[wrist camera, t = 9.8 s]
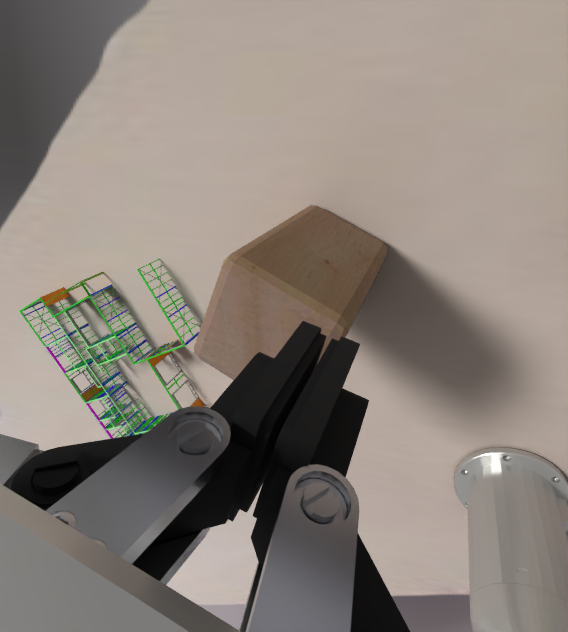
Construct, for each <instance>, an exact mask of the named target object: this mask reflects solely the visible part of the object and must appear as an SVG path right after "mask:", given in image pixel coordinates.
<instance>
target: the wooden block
mask: <svg viewBox="0 0 568 632" xmlns="http://www.w3.org/2000/svg"><path fill="white" fill-rule="evenodd" d="M387 251H388V247H387V246H386V245H385V244H384V242H382V241H380V240H378V239H376V238H375V237H373V236H371V235H369V234H367V233H366V232H364V231H362V230H360V229H358V228H357V227H355V226H353V225H351V224H349V223H347V222H346V221H344V220H342V219H340V218H338V217H337V216H335V215H333V214H331V213H329V212H328V211H326V210H324V209H322V208H320V207H319V206H313V205H311V206H309V207H307V208H306V209H304V210H302V211H301V212H299V213H297V214H296V215H294V216H293V217H291V218H289V219H288V220H286V221H284V222H283V223H281V224H279V225H278V226H276V227H275V228H273V229H271V230H270V231H268V232H266V233H265V234H263V235H261V236H260V237H258V238H257V239H255V240H253V241H252V242H250V243H248V244H247V245H245V246H243V247H242V248H240V249H238V250H237V251H235V252H234V253H232V254H230V255H229V256H228V257H227V258H226V259H225V260H224V262H223V265H222V268H221V271H220V274H219V277H218V279H217V282H216V285H215V288H214V291H213V294H212V297H211V300H210V302H209V305H208V308H207V311H206V314H205V317H204V320H203V323H202V325H201V328H200V331H199V334H198V337H197V340H196V343H195V346H194V352H195V354H196V355H197V356H198V357H199V358H200V359H201V360H203V361H204V362H206V363H208V364H209V365H211V366H212V367H214V368H216V369H217V370H219V371H220V372H222V373H223V374H225V375H227V376H228V377H230V378H231V379H233V380H235V378H236V377H237V376H238V375H239V374H240V373H241V371H242V370H243V369H244V368H245V367H246V365H247V364H248V363H249V362H250V361H251V360H252V358H253V357H254V356H255V355H256V354H257V353H258V352H261V353H263V354H266V355H268V356H270V357H272V358H275V357H276V356H277V354H278V353H279V352H280V350H281V349H282V348H283V346H284V345H285V344H286V342H287V341H288V340H289V338H290V337H291V336H292V334H293V333H294V332H295V330H296V329H297V328H298V326H299V325H300V324H301V322H302V321H305V322H308V323H310V324H313V325H315V326H318V327H320V328H321V334H323V335H326V336H327V337H326V340H325V343H324V346H323V349H322V352H321V355H320V358H319V360H318V362H319V361H320V359H321V357H322V355H323V353H324V352H325V350H326V348H327V346H328V345H329V343H330V341H331V339H332V338H333V339H335V340H338V341H339V340H340V338H341V337H344V338H345V337H346V335H347V333H348V331H349V329H350V327H351V325H352V323H353V321H354V319H355V317H356V316H357V314H358V312H359V310H360V308H361V306H362V304H363V302H364V300H365V298H366V296H367V294H368V292H369V290H370V288H371V286H372V284H373V282H374V280H375V278H376V276H377V274H378V272H379V270H380V268H381V266H382V264H383V262H384V260H385V258H386V256H387ZM317 364H318V363H317Z"/></svg>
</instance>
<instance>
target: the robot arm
mask: <svg viewBox="0 0 568 632" xmlns="http://www.w3.org/2000/svg"><path fill="white" fill-rule="evenodd" d="M326 337H327V336H326V335H323V334H321V328H320V327H318V326H315V325H313V324H310V323H308V322H305V321H302V322H301V324H300V325H299V326H298V328H297V329H296V330H295V332H294V333H293V334H292V336H291V337H290V338H289V340H288V341H287V342H286V344H285V345H284V346H283V348H282V349H281V350H280V352H279V353H278V354H277V356H276V357H275V358H272V357H270V356H268V355H266V354H263V353H261V352H258V353H257V354H256V355H255V356H254V357H253V358H252V360H251V361H250V362H249V363H248V364H247V365H246V367H245V368H244V369H243V370H242V371H241V373H240V374H239V375H238V376H237V377H236V378H235V380H234V381H233V382H232V383H231V384H230V386H229V387H228V388H227V389H226V390H225V391H224V393H223V394H222V395H221V396H220V397H219V399H218V400H217V401H216V402H215V403H214V404H213V406H212V407H211V408H210V409H209V408H205V407H200V406H195V407H186V408H182V409H179V410H177V411H175V412H173V413H172V414H170V415H169V416H167V417H166V418H165V419H164V420H162V421H161V422H160V423H158V424H157V425H156V426H155V427H153V428H152V429H151V430H149V431H148V432H147V433H145V434H139V435H132V436H126V437H120V438H113V439H107V440H101V441H95V442H88V443H82V444H76V445H69V446H63V447H58V448H54V449H50V450H46V451H42V450H39V446H38V444H35V443H31V442H27V441H24V440H20V439H16V438H13V437H9V436H5V435H1V434H0V632H410V631H409V629H408V627H407V625H406V623H405V621H404V619H403V617H402V615H401V614H400V612H399V610H398V608H397V606H396V604H395V602H394V601H393V599H392V597H391V595H390V593H389V591H388V589H387V587H386V585H385V583H384V582H383V580H382V578H381V576H380V574H379V572H378V570H377V568H376V566H375V565H374V563H373V561H372V559H371V557H370V555H369V553H368V551H367V550H366V548H365V546H364V544H363V542H362V540H361V538H360V536H359V534H358V520H359V502H358V497H357V495H356V492H355V490H354V488H353V487H352V485H351V484H350V482H349V481H348V480H347V479H346V478H345V477H346V474H347V471H348V467H349V464H350V461H351V458H352V454H353V451H354V448H355V445H356V441H357V438H358V435H359V432H360V429H361V425H362V422H363V419H364V416H365V412H366V409H367V406H368V402H369V400H367V399H365V398H363V397H361V396H358V395H356V394H354V393H352V392H349V391H347V390H345V389H343V388H342V387H343V385H344V382H345V380H346V378H347V375H348V373H349V370H350V368H351V365H352V363H353V360H354V358H355V356H356V353H357V351H358V348H359V346H360V344H359V343H356V342H354V341H352V340H349V339H347V338H344V337H341V338H340V340H339V341H338V340H335V339H333V338H332V339H331V341H330V343H329V345H328V346H327V348H326V350H325V352H324V353H323V355H322V357H321V359H320V361H319V362H318V360H319V358H320V355H321V352H322V349H323V346H324V343H325V340H326ZM317 363H318V364H317ZM262 484H263V485H262ZM261 485H262V488H261V491H260V494H259V498H258V501H257V504H256V507H255V510H254V513H253V516H254V517H255V518H257V520H256V523H255V526H254V529H253V532H252V535H251V539H252V542H253V546H254V549H255V552H256V555H257V558H258V564H257V567H256V570H255V574H254V577H253V581H252V584H251V588H250V591H249V595H248V598H247V602H246V605H245V609H244V612H243V616H242V619H241V623H240V627H239V630H237V629H235V628H234V627H232V626H231V625H229V624H227V623H226V622H224V621H223V620H221V619H219V618H218V617H216V616H214V615H213V614H211V613H210V612H208V611H206V610H205V609H203V608H202V607H200V606H198V605H197V604H195V603H194V602H192V601H190V600H189V599H187V598H185V597H184V596H182V595H181V594H179V593H177V592H176V591H174V590H173V589H171V588H169V587H168V586H166V584H167V583H168V582H169V581H170V579H171V578H172V577H173V576H174V574H175V573H176V572H177V571H178V570H179V568H180V567H181V566H182V565H183V563H184V562H185V561H186V560H187V558H188V557H189V556H190V555H191V554H192V552H193V551H194V550H195V549H196V547H197V546H198V545H199V544H200V542H201V541H202V540H203V539H204V538H205V536H206V534H207V533H208V531H209V529H210V527H214V526H217V525H221V524H225V523H226V522H227V520H228V519H229V520H231V521H233V520H234V518H235V517H236V515H237V513H238V511H239V509H241V510H243V511H244V512H247V511H248V510H249V508H250V506H251V504H252V502H253V501H254V499H255V497H256V495H257V493H258V491H259V489H260V487H261ZM454 488H455V492H456V495H457V496H458V498H459V500H460V502H461V503H462V504H463V505H464V506H465V507H466V508H467V509H468V542H469V580H470V612H471V624H472V629H473V632H568V531H567V530H568V482H567V480H566V478H565V476H564V475H563V474H562V473H561V471H560V470H559V469H558V468H557V467H555V466H554V465H553V464H552V463H550V462H549V461H547V460H545V459H544V458H542V457H540V456H538V455H535V454H533V453H530V452H527V451H523V450H519V449H512V448H490V449H484V450H481V451H477V452H475V453H473V454H471V455H469V456H467V457H466V458H465V459H463V460H462V461H461V462H460V464H459V465H458V466H457V468H456V470H455V474H454Z"/></svg>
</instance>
